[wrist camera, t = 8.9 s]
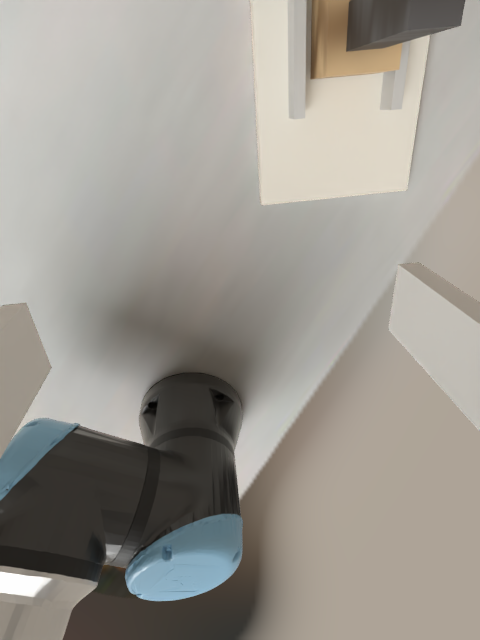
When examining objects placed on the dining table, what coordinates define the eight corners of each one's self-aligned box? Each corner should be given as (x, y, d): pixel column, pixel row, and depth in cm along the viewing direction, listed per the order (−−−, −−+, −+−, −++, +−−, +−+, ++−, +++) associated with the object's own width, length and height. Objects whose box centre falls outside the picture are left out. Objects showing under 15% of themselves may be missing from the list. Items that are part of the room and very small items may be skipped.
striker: (374, 73, 34) (479, 56, 21) (310, 79, 34) (377, 65, 21) (382, -12, 31) (511, -93, 18) (311, -6, 31) (392, -85, 18)
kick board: (400, 187, 41) (418, 195, 38) (260, 202, 41) (265, 211, 37) (453, -188, 27) (489, -229, 24) (241, -174, 27) (247, -215, 23)
